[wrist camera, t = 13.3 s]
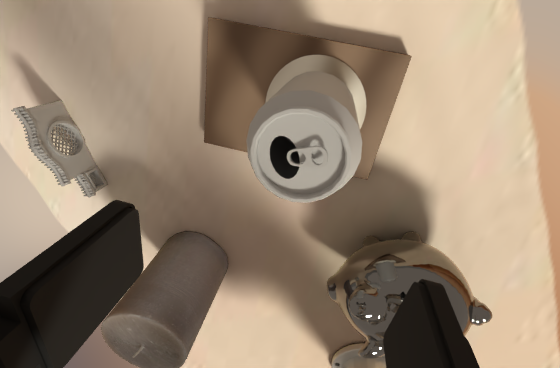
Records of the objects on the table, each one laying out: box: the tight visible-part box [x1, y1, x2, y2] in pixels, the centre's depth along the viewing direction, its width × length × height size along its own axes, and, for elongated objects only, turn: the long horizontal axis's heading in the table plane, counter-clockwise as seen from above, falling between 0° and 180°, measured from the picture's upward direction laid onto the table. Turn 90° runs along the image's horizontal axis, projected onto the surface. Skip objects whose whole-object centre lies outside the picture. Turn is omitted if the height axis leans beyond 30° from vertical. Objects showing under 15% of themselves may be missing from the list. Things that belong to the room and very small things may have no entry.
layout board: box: [204, 17, 412, 180], centre depth 28 cm, size 18×12×2 cm, turn 81°
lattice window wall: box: [11, 100, 108, 197], centre depth 34 cm, size 12×2×6 cm, turn 14°
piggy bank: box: [327, 231, 492, 359], centre depth 31 cm, size 11×15×12 cm
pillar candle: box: [101, 232, 228, 368], centre depth 36 cm, size 10×10×15 cm
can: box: [246, 71, 362, 203], centre depth 22 cm, size 8×8×12 cm
